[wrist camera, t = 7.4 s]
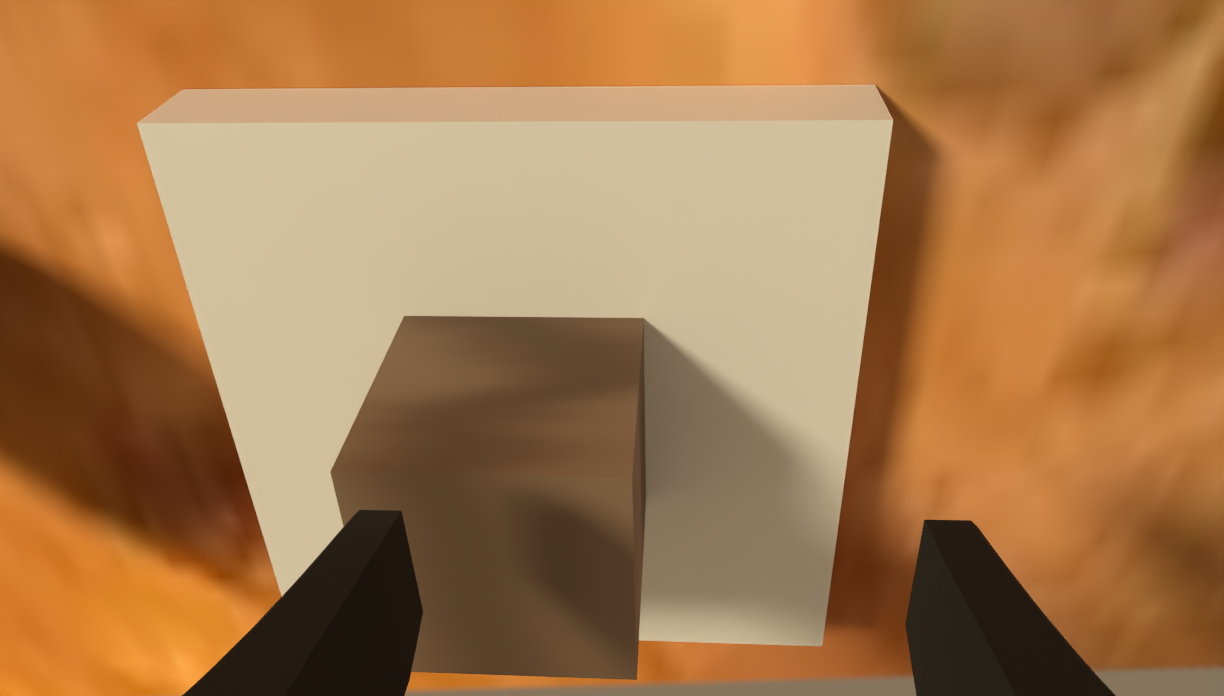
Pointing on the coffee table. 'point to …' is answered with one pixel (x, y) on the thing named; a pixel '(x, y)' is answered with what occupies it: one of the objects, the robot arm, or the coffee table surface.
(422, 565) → the walnut block
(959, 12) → the coffee table surface
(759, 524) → the base board
